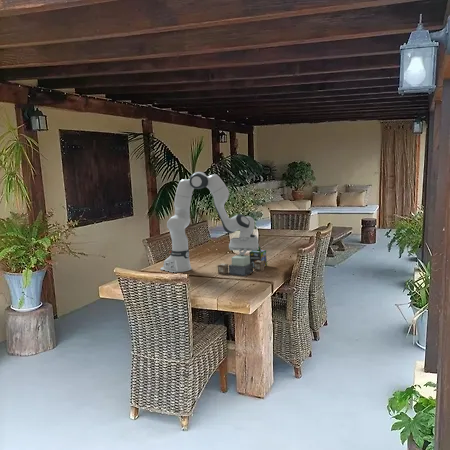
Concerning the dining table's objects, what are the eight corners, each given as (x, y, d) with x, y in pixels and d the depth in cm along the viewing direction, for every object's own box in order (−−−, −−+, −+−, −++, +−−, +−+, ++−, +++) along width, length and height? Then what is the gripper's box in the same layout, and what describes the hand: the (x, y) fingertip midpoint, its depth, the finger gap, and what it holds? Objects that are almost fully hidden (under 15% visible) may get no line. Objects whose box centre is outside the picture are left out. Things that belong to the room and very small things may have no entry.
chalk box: (267, 265, 310) (266, 245, 308) (261, 268, 302) (260, 247, 300) (255, 264, 314) (254, 244, 312) (249, 267, 307) (248, 246, 305)
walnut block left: (217, 274, 293) (217, 264, 292) (222, 272, 297) (221, 263, 296) (224, 274, 290) (224, 265, 289) (228, 272, 295) (228, 263, 294)
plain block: (231, 269, 291) (231, 257, 289) (238, 266, 298) (237, 254, 297) (243, 270, 286) (243, 258, 285) (250, 267, 294) (249, 255, 293)
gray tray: (229, 274, 291) (228, 265, 290) (237, 270, 301) (237, 261, 300) (245, 276, 285) (244, 267, 284) (253, 271, 295) (252, 263, 294)
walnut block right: (254, 271, 297) (253, 261, 296) (257, 269, 301) (257, 260, 301) (260, 271, 294) (260, 262, 293) (264, 269, 299) (263, 260, 298)
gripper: (229, 235, 301) (225, 252, 294) (258, 235, 294) (255, 252, 286) (232, 240, 306) (228, 257, 298) (260, 240, 299) (257, 258, 291)
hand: (241, 255), depth 292 cm, fingers closed
